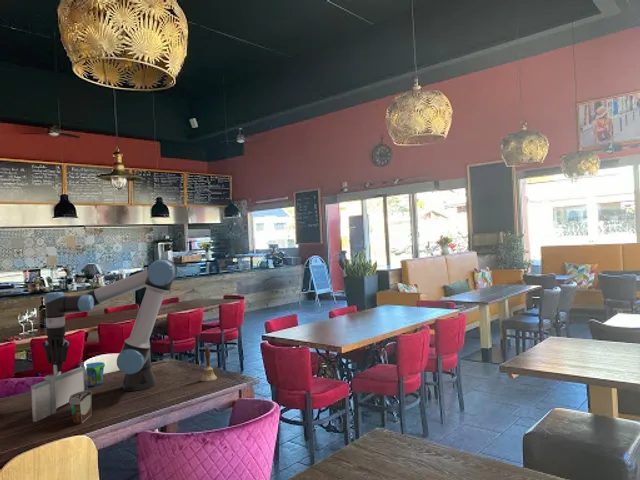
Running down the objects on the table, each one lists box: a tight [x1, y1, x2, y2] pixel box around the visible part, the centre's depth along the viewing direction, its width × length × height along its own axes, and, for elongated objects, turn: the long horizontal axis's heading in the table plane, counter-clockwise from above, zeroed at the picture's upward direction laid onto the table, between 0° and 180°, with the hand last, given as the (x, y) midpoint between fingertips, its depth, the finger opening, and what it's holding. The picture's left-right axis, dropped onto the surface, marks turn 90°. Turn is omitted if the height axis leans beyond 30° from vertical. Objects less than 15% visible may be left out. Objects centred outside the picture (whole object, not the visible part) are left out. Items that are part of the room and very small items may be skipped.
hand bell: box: [199, 347, 218, 382], centre depth 239 cm, size 8×8×16 cm
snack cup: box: [86, 361, 106, 387], centre depth 241 cm, size 16×10×10 cm
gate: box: [55, 366, 84, 409], centre depth 210 cm, size 2×18×13 cm, turn 170°
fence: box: [30, 361, 89, 423], centre depth 206 cm, size 2×32×16 cm, turn 170°
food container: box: [68, 390, 93, 425], centre depth 190 cm, size 12×6×10 cm, turn 5°
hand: (57, 378), depth 214 cm, fingers closed
